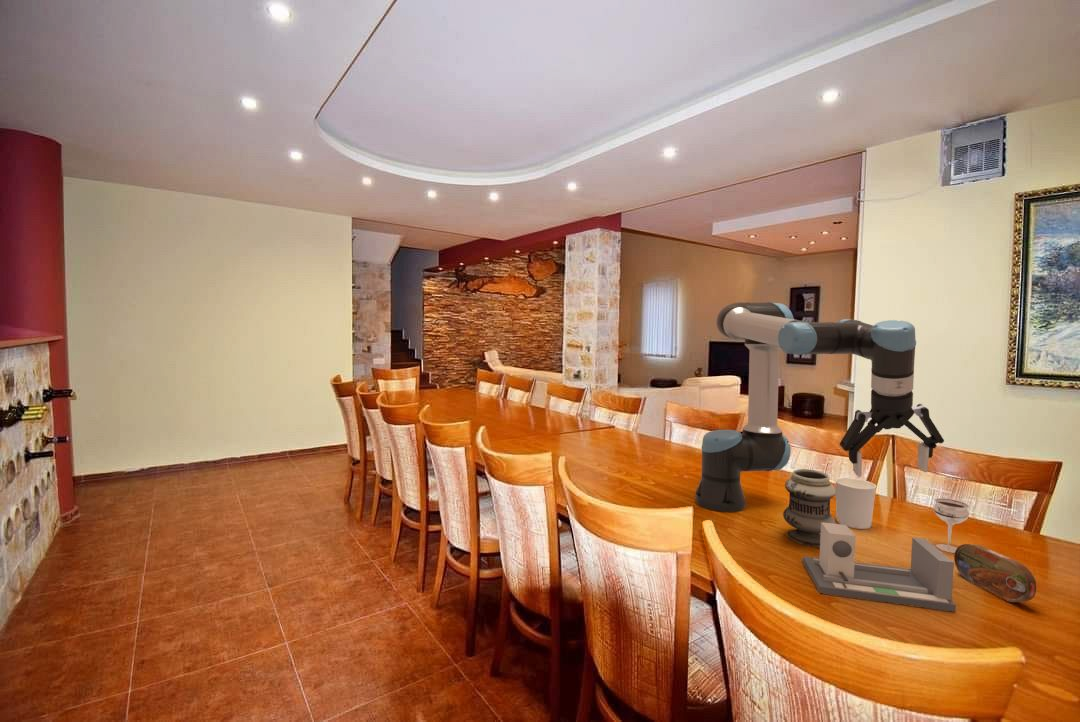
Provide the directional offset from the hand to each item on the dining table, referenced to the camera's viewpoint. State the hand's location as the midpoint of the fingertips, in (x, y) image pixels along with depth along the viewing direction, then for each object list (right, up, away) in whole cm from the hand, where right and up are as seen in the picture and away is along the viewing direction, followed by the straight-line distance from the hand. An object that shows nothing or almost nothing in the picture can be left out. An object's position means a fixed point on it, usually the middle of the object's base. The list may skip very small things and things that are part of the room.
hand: (889, 471), depth 111 cm
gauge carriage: (-17, -21, -8) cm, 28 cm away
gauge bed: (-10, -23, -8) cm, 26 cm away
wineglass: (+22, -22, +9) cm, 33 cm away
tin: (+15, -24, -10) cm, 30 cm away
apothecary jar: (-11, -22, +15) cm, 28 cm away
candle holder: (+8, -21, +25) cm, 34 cm away
